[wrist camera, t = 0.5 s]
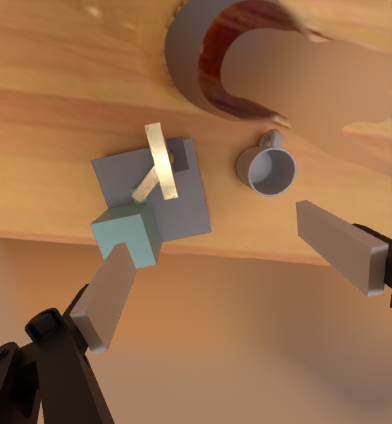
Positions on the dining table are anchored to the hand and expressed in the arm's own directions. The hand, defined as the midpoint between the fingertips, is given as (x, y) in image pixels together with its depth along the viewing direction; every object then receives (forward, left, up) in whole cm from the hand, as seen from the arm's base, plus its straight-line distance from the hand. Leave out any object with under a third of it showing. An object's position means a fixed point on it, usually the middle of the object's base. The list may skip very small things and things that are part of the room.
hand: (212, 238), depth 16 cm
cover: (+3, -12, -19) cm, 23 cm away
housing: (0, -8, -25) cm, 26 cm away
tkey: (-5, -6, -19) cm, 20 cm away
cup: (-2, +11, -25) cm, 28 cm away
